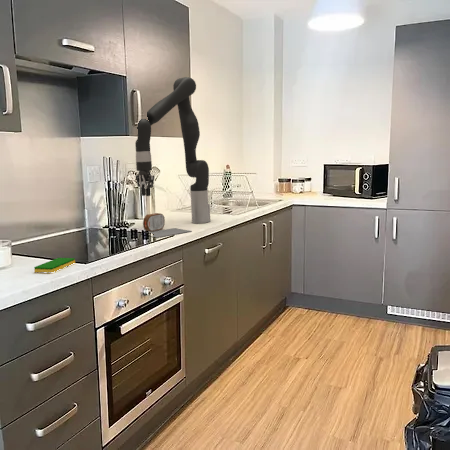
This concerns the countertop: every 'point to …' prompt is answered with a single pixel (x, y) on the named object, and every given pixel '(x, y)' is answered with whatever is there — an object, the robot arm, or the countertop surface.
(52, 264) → the dish sponge
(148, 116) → the robot arm
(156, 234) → the mat
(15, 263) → the countertop surface
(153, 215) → the tin
